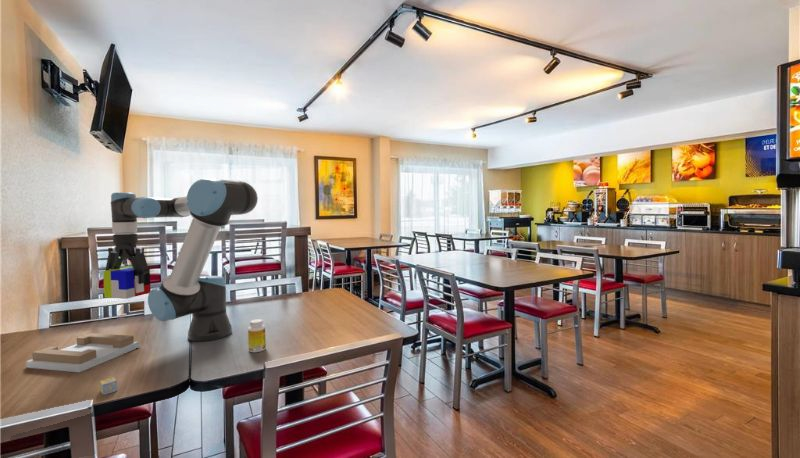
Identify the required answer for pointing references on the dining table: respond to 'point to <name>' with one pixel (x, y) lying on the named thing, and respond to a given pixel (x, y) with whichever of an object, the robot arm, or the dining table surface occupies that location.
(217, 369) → the dining table surface
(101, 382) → the alphabet block
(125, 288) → the puzzle toy
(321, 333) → the dining table surface
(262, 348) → the supplement bottle
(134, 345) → the foundation plate
